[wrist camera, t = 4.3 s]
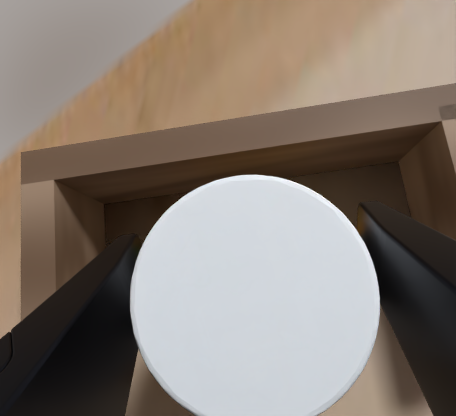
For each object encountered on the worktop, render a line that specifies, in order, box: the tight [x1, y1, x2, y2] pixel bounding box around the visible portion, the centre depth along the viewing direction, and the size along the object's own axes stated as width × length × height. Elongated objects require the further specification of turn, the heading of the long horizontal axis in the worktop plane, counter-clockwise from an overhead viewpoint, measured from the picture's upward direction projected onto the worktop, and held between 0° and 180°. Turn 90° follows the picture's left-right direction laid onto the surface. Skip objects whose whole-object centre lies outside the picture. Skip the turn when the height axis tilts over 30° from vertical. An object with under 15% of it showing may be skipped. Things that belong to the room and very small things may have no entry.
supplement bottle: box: [130, 175, 380, 416], centre depth 10 cm, size 5×5×10 cm
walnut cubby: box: [21, 83, 456, 321], centre depth 14 cm, size 8×15×4 cm, turn 97°
